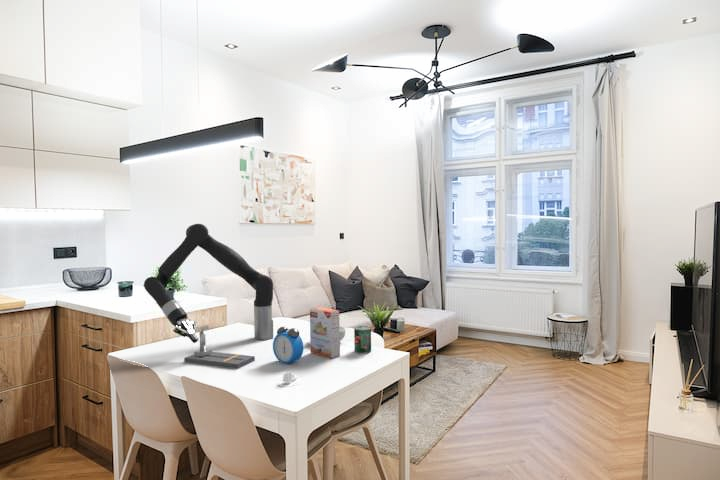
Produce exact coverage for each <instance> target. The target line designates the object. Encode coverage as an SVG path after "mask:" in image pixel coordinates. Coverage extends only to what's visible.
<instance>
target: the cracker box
mask: <svg viewBox="0 0 720 480" xmlns="http://www.w3.org/2000/svg"><path fill="white" fill-rule="evenodd" d="M309 321H310V322H309V326H310V327H309V329H310V330H309V331H310V332H309V333H310V334H309V335H310V336H309V338H310V339H309V341H310V342H309V343H310V353H311V354H314V355H317V356H322V357H324V358H328V359H334V358H337V357H340V355H341V343H340V342H341V341H340V327H341V326H340V310H337V309H331V308H327V307H319V306H317V307H312V308H309ZM339 326H340V327H339Z"/></svg>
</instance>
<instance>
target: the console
mask: <svg viewBox="0 0 720 480" xmlns="http://www.w3.org/2000/svg"><path fill="white" fill-rule="evenodd" d="M183 359H184V361H183V362H184V363H187V364H194V365H195V364H196V365H203V366H211V367H213V366H214V367H217V368H218V367H221V368H225V369H227V368H228V369H236V370H239V369H241V368H243V367H245V366H247V365H249V364H251V363H253V362H255V360H256V357H255V356H254V355H245V354H239V353H237V354H236V353H228V352H218V351H212V353H211V354H208V355H205V356H196V355H194V353H192V354H191V355H188V356H185V357H184V358H183Z"/></svg>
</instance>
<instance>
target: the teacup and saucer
mask: <svg viewBox="0 0 720 480" xmlns="http://www.w3.org/2000/svg"><path fill="white" fill-rule="evenodd" d="M297 378H298V376H297V375H296V374H293V372H292V371H286V372H285V371H284V372H283V377H282V379H280V380H278V381H277V383H276V384H277V386H280V387H287V388H288V387H293V386H296V385H298V384H299V382H300V381H299V380H298V379H297ZM293 381H294V382H295V383H293V384H292V382H293ZM282 382H284V384H286V385H283V384H281V383H282ZM290 384H291V385H290Z"/></svg>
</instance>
